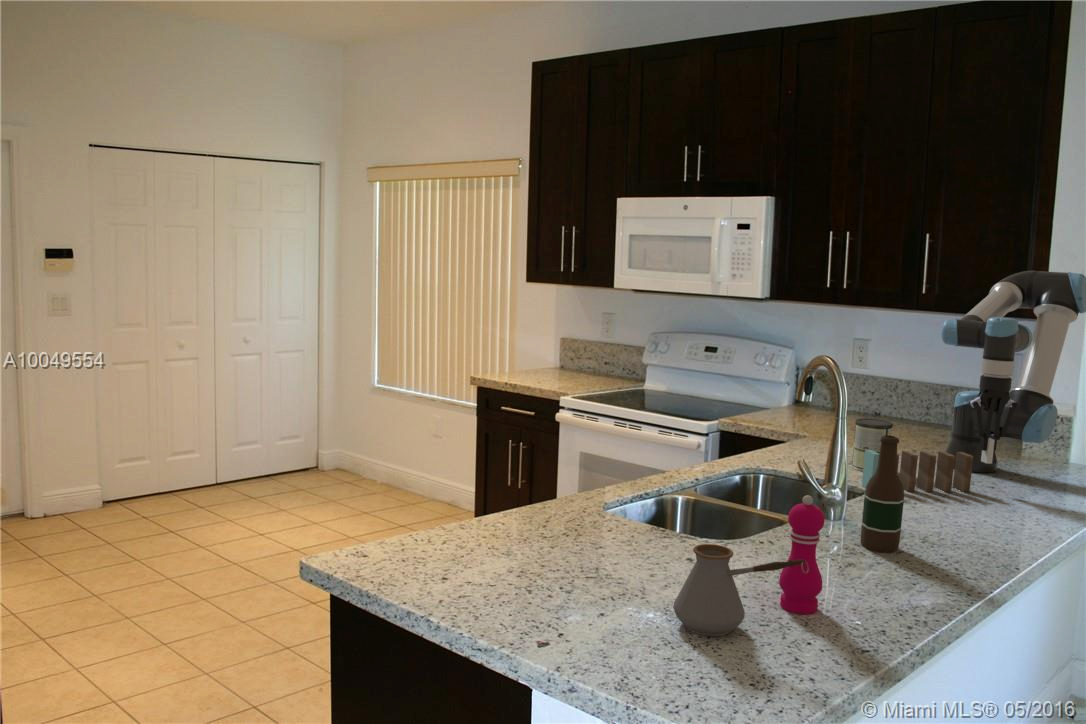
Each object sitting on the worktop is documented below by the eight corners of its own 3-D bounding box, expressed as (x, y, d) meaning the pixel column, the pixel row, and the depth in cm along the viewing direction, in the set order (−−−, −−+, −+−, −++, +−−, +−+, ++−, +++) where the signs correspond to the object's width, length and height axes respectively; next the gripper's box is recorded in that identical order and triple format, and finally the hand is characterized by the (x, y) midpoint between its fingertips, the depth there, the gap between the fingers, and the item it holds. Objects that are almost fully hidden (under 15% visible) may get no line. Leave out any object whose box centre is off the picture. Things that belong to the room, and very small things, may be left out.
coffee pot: (659, 627, 147) (665, 537, 145) (692, 606, 156) (698, 522, 155) (785, 668, 135) (794, 570, 133) (813, 643, 144) (821, 551, 142)
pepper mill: (771, 599, 162) (780, 489, 159) (810, 599, 162) (820, 490, 160) (785, 615, 154) (795, 501, 152) (826, 616, 155) (837, 501, 152)
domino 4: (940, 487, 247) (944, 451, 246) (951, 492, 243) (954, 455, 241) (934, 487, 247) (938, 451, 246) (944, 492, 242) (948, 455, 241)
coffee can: (847, 463, 271) (851, 417, 269) (883, 466, 270) (887, 419, 268) (855, 472, 261) (860, 423, 259) (892, 474, 260) (897, 426, 258)
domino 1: (868, 486, 245) (871, 450, 244) (876, 491, 240) (880, 454, 239) (861, 486, 245) (865, 449, 243) (870, 491, 240) (874, 454, 238)
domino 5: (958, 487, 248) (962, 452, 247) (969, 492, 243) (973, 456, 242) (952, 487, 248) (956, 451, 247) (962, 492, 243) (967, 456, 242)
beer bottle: (898, 544, 196) (909, 435, 193) (899, 555, 189) (910, 442, 186) (859, 539, 198) (870, 431, 195) (859, 549, 191) (870, 437, 188)
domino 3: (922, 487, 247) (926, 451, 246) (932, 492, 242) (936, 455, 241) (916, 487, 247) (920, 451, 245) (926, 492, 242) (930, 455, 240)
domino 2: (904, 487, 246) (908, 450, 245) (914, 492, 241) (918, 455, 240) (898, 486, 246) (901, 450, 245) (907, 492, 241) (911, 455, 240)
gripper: (1010, 374, 247) (1000, 459, 250) (965, 372, 245) (955, 458, 248) (1028, 378, 239) (1017, 466, 242) (981, 376, 238) (971, 465, 241)
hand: (986, 462), depth 245 cm, fingers closed
